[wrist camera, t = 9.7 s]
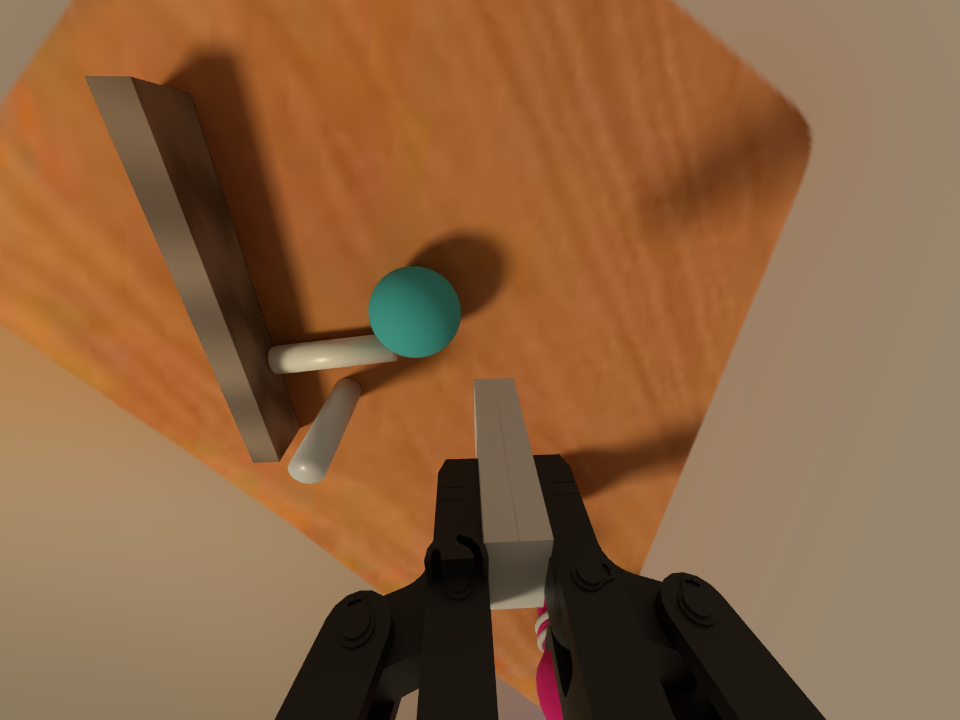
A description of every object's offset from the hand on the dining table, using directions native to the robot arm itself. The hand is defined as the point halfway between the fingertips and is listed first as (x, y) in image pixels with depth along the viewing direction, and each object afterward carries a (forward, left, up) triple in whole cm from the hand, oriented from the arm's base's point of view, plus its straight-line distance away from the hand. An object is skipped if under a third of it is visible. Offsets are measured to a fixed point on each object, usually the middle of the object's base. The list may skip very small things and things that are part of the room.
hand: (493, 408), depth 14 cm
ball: (0, +4, -11) cm, 12 cm away
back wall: (0, +17, -14) cm, 22 cm away
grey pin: (-8, +11, -14) cm, 19 cm away
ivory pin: (-4, +7, -13) cm, 15 cm away
